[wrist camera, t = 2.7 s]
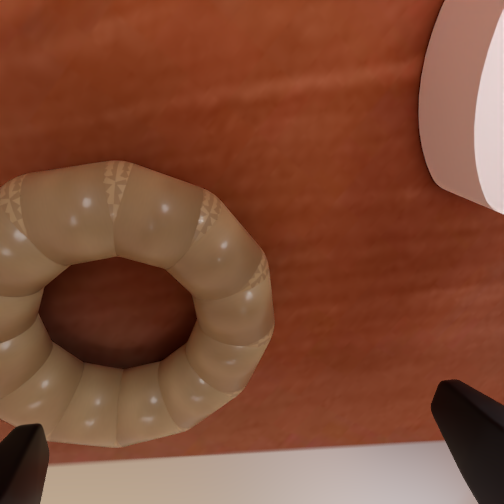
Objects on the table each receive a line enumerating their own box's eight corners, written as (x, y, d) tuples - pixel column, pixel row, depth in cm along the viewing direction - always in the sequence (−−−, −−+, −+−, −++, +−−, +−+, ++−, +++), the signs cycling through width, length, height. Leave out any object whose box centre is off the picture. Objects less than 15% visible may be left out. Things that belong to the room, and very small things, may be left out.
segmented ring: (307, 217, 12) (336, 248, 10) (209, 417, 15) (215, 473, 13) (-16, 99, 9) (-77, 106, 7) (-56, 380, 12) (-106, 446, 10)
